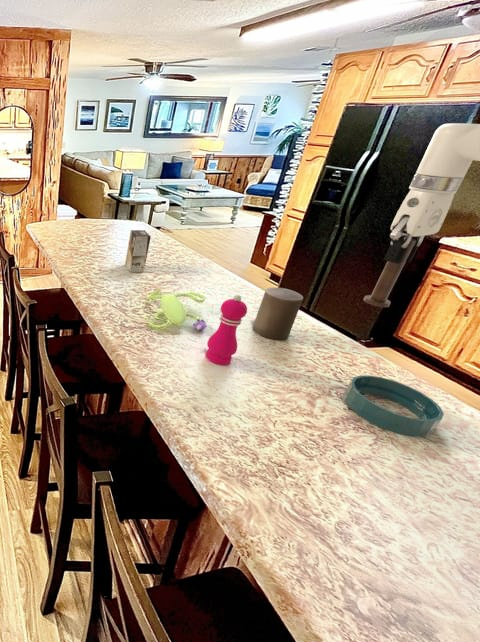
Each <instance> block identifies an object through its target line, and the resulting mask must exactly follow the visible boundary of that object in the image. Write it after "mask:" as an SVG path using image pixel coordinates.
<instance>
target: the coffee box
mask: <svg viewBox="0 0 480 642" xmlns="http://www.w3.org/2000/svg"><path fill="white" fill-rule="evenodd" d="M151 238H152V237H151V235H150V234H149V233H148V232H147V231H146V230H145V229H144V230H142V229H137V230H136V229H135V230H134V229H131V230H130V232H129V238H128V245H127V251H126V255H125V256H126V257H125V263H124V265H125V267H126V268H127V270H128V271H129V272H130V273H132V272H133V273H144V272H145V270H146V269H145V268H146V263H147V258H148V253H149V249H150V242H151Z"/></svg>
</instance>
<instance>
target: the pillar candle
mask: <svg viewBox="0 0 480 642" xmlns="http://www.w3.org/2000/svg"><path fill="white" fill-rule="evenodd" d="M303 300H304V296H303V295H302V294H300V293H299V292H297V291H294V290H292V289H288V288H284V287H283V288H282V287H276V286H275V287H267V288H265V291H264V293H263V297H262V300H261V302H260V305H259V308H258V310H257V313H256V317H255V319H254V322H253V325H252V331H254V333H256V334H258V335H260V336H261V337H263V338H266V339H269V340H275V341H285V340H287V339H288V338H289V336H290V333H291V331H292V328H293V326H294V323H295V321H296V318H297V315H298V313H299V310H300V308H301V305H302V303H303Z"/></svg>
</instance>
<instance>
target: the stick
mask: <svg viewBox="0 0 480 642" xmlns="http://www.w3.org/2000/svg"><path fill="white" fill-rule="evenodd" d="M404 240H405V237H404ZM415 242H416V240H414V239H411V240H410V242H409V244H408V246H407V247H406V248H408V250H407V252H406V254H405V256H404V258H403V260H402V262H401V263H400V264H396V263H392V262H389V261H386V263H385V265H384V268H383V270H382V272H381V274H380V276H379V278H378V280H377V282H376V285H375V287H374V288H373V290H372V292H371V294H369V295H368V294H366V295H365V296H364V297H363V302H365V303H366V304H369V305H371V306H374V307H379V308H389V307H390V305H391V303H392V302H391V300H389V299H388V298H389V296H390V293H391V292H392V290H393V288H394V286H395V284H396V282H397V280H398V278H399V276H400V274H401V271H402V270H403V267H404V266H405V264H406V263H407V262H406V260H407V258H408V256H409V254H410V252H411V250H412V248H413V246H414V244H415Z"/></svg>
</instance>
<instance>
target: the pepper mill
mask: <svg viewBox="0 0 480 642" xmlns="http://www.w3.org/2000/svg"><path fill="white" fill-rule="evenodd" d="M220 312H221V313H220V317H219V326H218V328H217V330H216V331H215V332H213V334H211V335H210V337H209V338H208V340H207V342H206V345H207V349H206V352H205V358H206V359H207V360H208V361H209V362H211V363H213V364H216V365H219V366H226V365H227V366H228V365H229V364H231V361H232V359H233V356H234V355H235V354H236V353H237V350H238V341H237V329H238V326H240V325H241V324H242V319H243V318H244V317H246V315H247V314H248V306H247V304H246V303H245V302H244V301H242V296H241V295H240V294H235V295H234V296H233V298H228V299H226V300H224V301H223V302H222V304H221V306H220Z"/></svg>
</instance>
